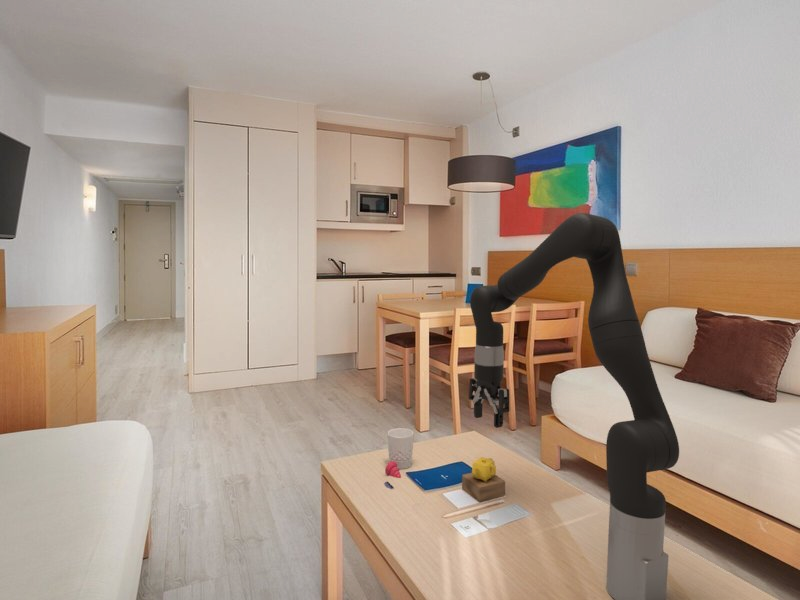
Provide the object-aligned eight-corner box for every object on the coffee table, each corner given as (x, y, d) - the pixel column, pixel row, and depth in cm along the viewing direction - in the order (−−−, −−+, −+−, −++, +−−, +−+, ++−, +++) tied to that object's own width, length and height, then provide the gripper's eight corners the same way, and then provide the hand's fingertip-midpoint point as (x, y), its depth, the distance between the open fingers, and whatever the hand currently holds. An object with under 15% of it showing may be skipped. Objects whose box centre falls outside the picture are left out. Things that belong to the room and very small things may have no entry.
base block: (504, 496, 126) (505, 481, 126) (479, 502, 122) (479, 487, 122) (486, 483, 133) (486, 469, 133) (462, 489, 130) (462, 474, 129)
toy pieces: (371, 484, 135) (371, 469, 134) (395, 470, 144) (395, 455, 144) (407, 496, 128) (407, 480, 128) (429, 480, 137) (429, 465, 137)
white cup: (407, 457, 152) (407, 426, 151) (417, 467, 145) (417, 435, 144) (383, 461, 149) (384, 429, 148) (392, 471, 142) (392, 438, 141)
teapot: (486, 487, 122) (487, 468, 122) (467, 480, 126) (467, 461, 125) (502, 476, 128) (502, 458, 128) (483, 470, 132) (483, 452, 131)
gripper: (518, 365, 122) (516, 428, 123) (484, 355, 134) (482, 412, 136) (494, 368, 118) (493, 433, 120) (461, 357, 131) (460, 416, 132)
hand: (487, 422), depth 128 cm, fingers open, 8 cm apart
